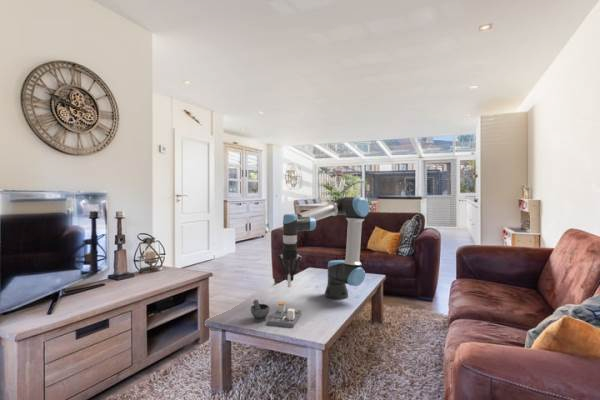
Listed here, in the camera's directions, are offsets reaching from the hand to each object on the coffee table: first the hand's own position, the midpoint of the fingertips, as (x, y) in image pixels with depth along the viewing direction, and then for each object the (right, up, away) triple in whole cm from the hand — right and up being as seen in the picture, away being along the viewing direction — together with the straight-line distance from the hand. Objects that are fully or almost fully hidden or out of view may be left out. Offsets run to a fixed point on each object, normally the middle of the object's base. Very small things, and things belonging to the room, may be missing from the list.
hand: (289, 286), depth 171 cm
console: (-2, -17, -3) cm, 17 cm away
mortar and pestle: (-16, -17, -5) cm, 23 cm away
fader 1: (-4, -14, +2) cm, 15 cm away
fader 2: (+1, -14, -8) cm, 16 cm away
